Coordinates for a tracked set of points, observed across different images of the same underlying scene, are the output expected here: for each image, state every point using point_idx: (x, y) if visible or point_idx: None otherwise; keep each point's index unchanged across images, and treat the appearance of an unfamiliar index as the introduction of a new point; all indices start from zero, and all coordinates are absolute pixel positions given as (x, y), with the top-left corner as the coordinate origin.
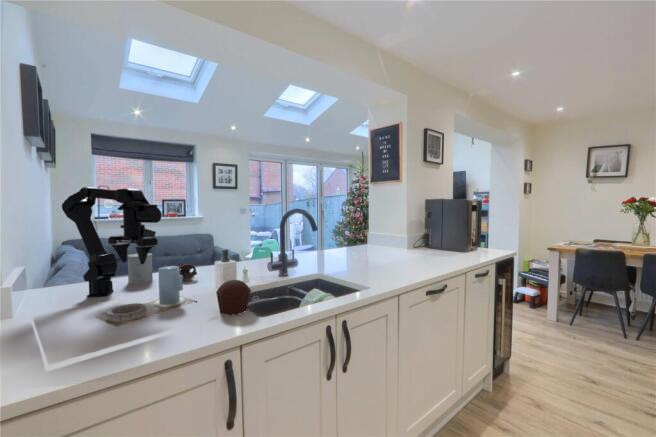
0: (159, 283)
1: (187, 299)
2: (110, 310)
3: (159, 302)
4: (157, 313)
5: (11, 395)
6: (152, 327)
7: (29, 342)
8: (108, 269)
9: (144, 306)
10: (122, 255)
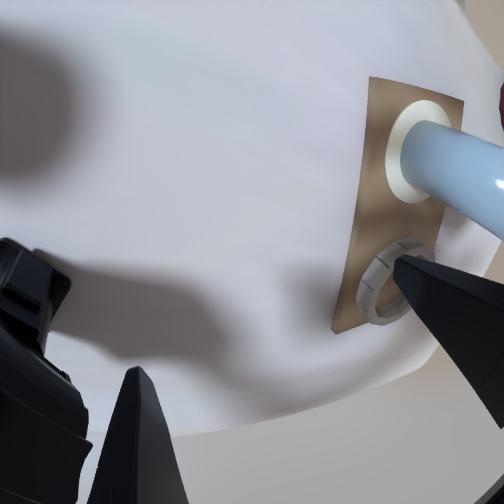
0: (472, 220)
1: (442, 102)
2: (378, 319)
3: (413, 186)
4: (440, 223)
5: (417, 367)
6: (451, 249)
7: (325, 392)
8: (55, 386)
9: (428, 252)
10: (168, 464)
